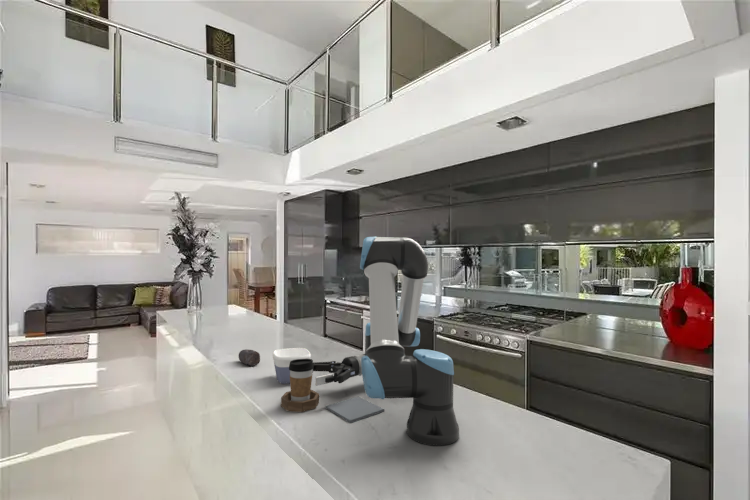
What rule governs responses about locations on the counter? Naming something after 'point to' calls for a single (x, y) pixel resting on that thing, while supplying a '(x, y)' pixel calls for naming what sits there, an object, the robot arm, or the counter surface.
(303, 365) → the coffee cup
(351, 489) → the counter surface
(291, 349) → the blue white tub
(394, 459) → the counter surface
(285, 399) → the cup cradle
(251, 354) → the perforated stone tool
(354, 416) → the rubber mat
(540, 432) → the counter surface
